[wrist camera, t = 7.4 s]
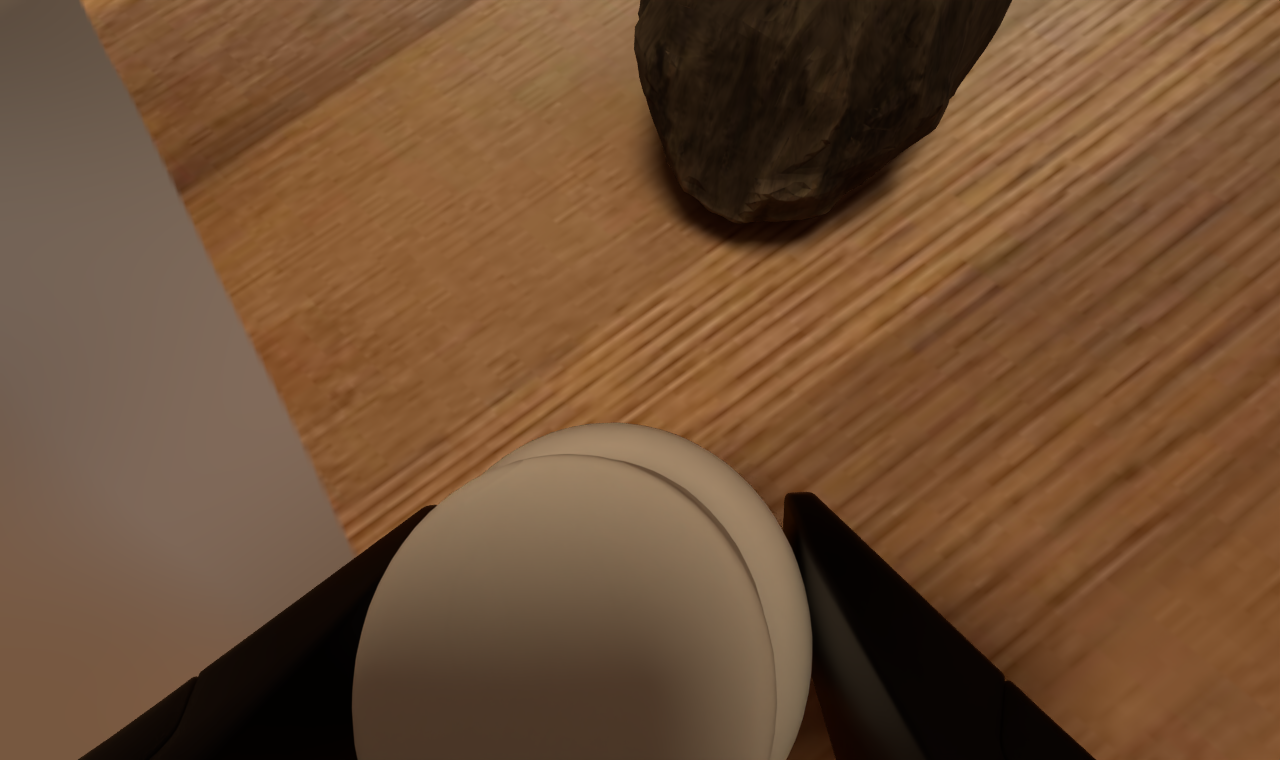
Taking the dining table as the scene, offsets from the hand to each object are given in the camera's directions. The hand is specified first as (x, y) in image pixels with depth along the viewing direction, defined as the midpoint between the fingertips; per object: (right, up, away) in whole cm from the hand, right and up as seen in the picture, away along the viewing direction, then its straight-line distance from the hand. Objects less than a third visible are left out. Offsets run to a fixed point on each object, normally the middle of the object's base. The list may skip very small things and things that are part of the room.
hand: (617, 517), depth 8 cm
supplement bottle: (+1, -3, +6) cm, 7 cm away
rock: (+6, +12, +10) cm, 17 cm away
